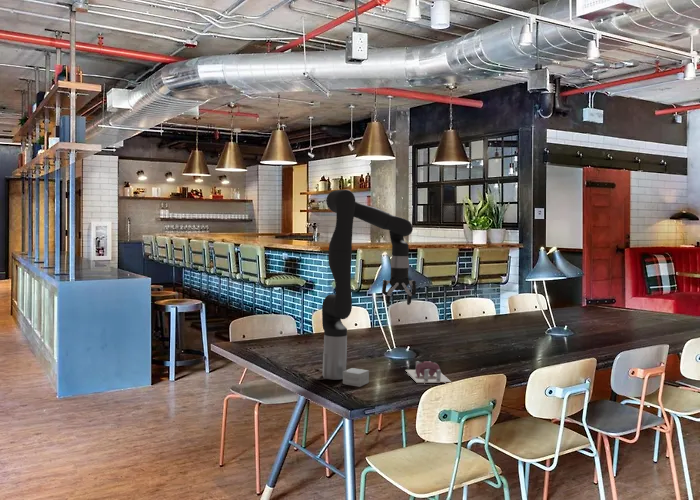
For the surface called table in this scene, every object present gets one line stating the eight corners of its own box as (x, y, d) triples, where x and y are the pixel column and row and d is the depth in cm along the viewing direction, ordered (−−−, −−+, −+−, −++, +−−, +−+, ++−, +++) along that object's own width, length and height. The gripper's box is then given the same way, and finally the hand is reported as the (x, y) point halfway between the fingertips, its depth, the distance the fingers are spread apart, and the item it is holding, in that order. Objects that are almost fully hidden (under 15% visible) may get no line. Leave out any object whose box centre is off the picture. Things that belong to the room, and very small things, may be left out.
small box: (369, 383, 248) (369, 370, 248) (359, 387, 241) (360, 374, 241) (351, 380, 252) (352, 367, 251) (342, 384, 245) (342, 371, 245)
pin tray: (416, 384, 247) (417, 371, 247) (405, 372, 267) (405, 360, 267) (451, 384, 249) (451, 371, 249) (437, 371, 269) (438, 360, 268)
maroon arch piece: (439, 379, 257) (438, 362, 260) (441, 377, 253) (440, 360, 256) (415, 379, 257) (414, 362, 260) (416, 376, 253) (416, 359, 256)
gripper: (384, 266, 264) (383, 305, 264) (418, 267, 265) (416, 305, 266) (381, 265, 271) (380, 303, 272) (414, 266, 273) (412, 303, 274)
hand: (398, 304), depth 269 cm, fingers open, 8 cm apart
